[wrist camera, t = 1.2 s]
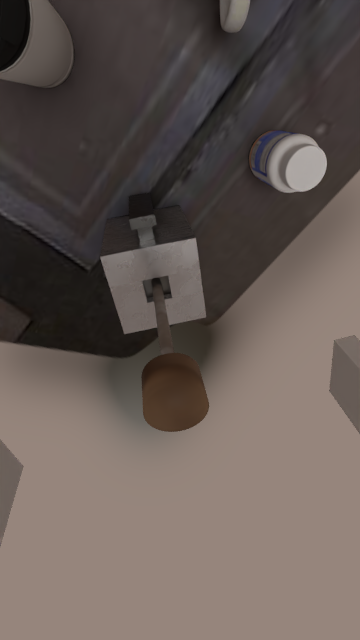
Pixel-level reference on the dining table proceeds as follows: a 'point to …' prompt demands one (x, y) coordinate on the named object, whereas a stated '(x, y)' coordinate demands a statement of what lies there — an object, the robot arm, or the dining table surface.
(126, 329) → the grey block with hole
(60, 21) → the travel mug
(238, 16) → the teacup
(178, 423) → the plunger
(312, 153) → the pill bottle
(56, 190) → the dining table surface
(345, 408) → the robot arm
